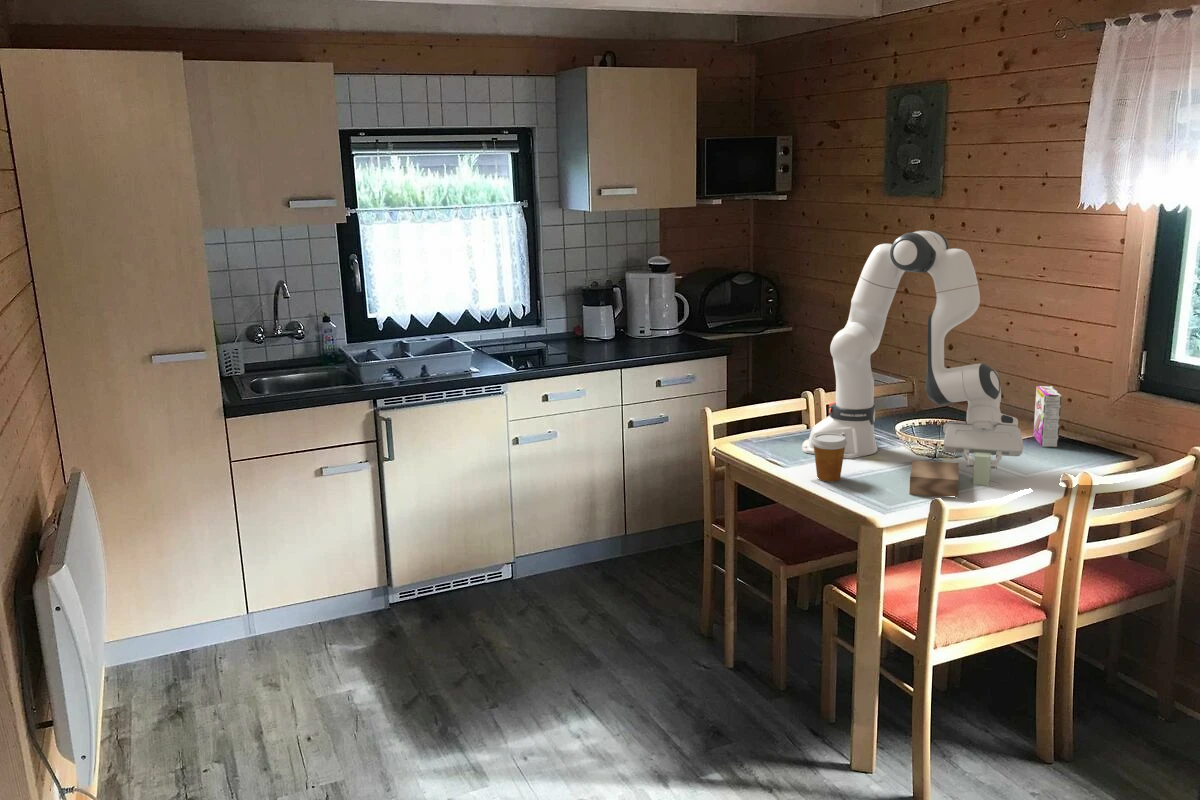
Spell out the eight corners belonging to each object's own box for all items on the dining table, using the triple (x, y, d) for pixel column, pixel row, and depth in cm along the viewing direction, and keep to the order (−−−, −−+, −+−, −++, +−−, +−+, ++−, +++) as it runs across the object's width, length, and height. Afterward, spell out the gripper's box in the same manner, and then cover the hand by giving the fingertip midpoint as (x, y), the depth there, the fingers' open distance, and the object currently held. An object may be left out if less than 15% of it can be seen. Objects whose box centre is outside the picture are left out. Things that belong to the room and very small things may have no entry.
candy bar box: (1031, 436, 296) (1035, 385, 292) (1049, 437, 295) (1053, 385, 291) (1040, 447, 286) (1044, 394, 282) (1058, 447, 285) (1062, 394, 281)
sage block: (973, 484, 258) (974, 456, 256) (973, 479, 262) (974, 451, 260) (989, 485, 257) (990, 457, 255) (988, 480, 260) (990, 452, 258)
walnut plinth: (909, 494, 253) (910, 476, 251) (911, 477, 265) (912, 460, 264) (957, 497, 248) (958, 479, 247) (957, 480, 261) (958, 463, 260)
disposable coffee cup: (809, 472, 272) (810, 432, 269) (843, 472, 271) (844, 432, 268) (813, 484, 263) (813, 442, 260) (848, 483, 262) (849, 442, 259)
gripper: (943, 414, 265) (941, 458, 258) (1023, 418, 258) (1023, 464, 251) (943, 425, 270) (941, 469, 263) (1021, 430, 263) (1021, 474, 256)
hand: (982, 467), depth 257 cm, fingers open, 5 cm apart
